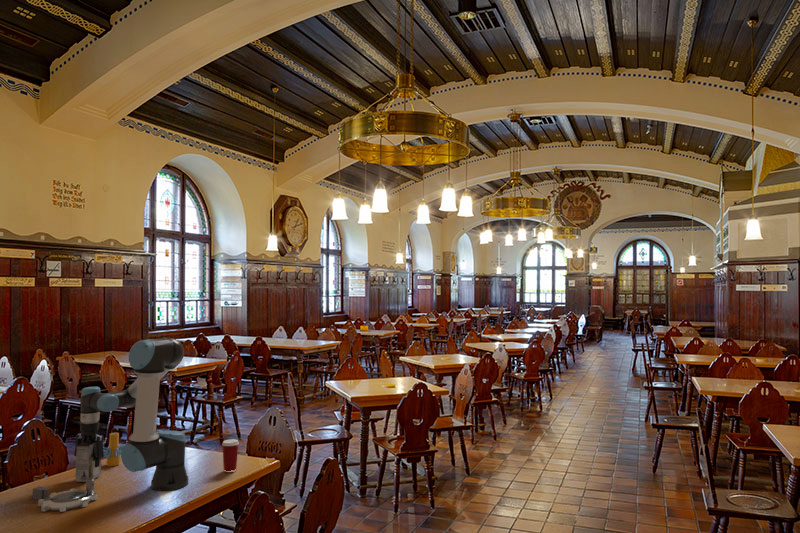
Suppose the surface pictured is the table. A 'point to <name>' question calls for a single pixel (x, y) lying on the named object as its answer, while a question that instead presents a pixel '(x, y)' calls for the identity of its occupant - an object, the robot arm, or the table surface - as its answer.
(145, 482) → the table surface
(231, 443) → the paper cup
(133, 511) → the table surface
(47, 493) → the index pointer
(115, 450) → the yellow and blue toy
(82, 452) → the coffee box
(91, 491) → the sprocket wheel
